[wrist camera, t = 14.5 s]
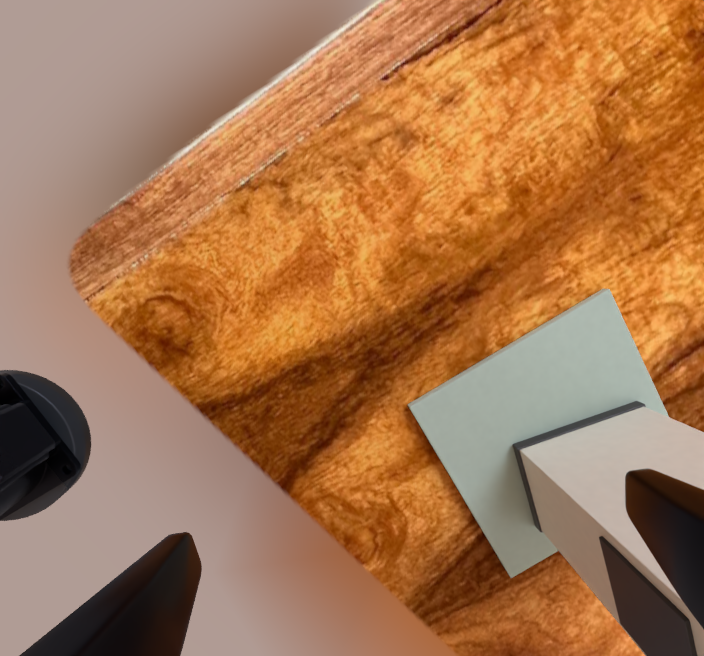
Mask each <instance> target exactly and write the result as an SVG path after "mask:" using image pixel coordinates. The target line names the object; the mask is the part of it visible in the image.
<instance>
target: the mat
mask: <svg viewBox="0 0 704 656" xmlns="http://www.w3.org/2000/svg"><path fill="white" fill-rule="evenodd" d="M634 401H639V402H641V403H643V404H645V406H646V408H648V409H651V410H653V411H655V412H658V413H660V414H662V415H665V416H667V417H669V416H668V414H667V412H666V410H665V407H664V405H663V403H662V401H661V399H660V397H659V395H658V392H657V390H656V388H655V386H654V384H653V382H652V379H651V377H650V375H649V373H648V371H647V369H646V367H645V364H644V362H643V360H642V358H641V356H640V354H639V352H638V349H637V347H636V345H635V343H634V341H633V339H632V337H631V334H630V332H629V330H628V328H627V326H626V324H625V321H624V319H623V317H622V315H621V313H620V311H619V309H618V306H617V304H616V302H615V300H614V298H613V296H612V294H611V291H610V290H609V289H602V290H600V291H598V292H597V293H595V294H593V295H592V296H590V297H588V298H587V299H585V300H583V301H581V302H580V303H578V304H576V305H575V306H573V307H571V308H570V309H568V310H566V311H565V312H563V313H561V314H560V315H558V316H556V317H554V318H553V319H551V320H549V321H548V322H546V323H544V324H543V325H541V326H539V327H538V328H536V329H534V330H532V331H531V332H529V333H527V334H526V335H524V336H522V337H521V338H519V339H517V340H516V341H514V342H512V343H511V344H509V345H507V346H505V347H504V348H502V349H500V350H499V351H497V352H495V353H494V354H492V355H490V356H489V357H487V358H485V359H483V360H482V361H480V362H478V363H477V364H475V365H473V366H472V367H470V368H468V369H467V370H465V371H463V372H462V373H460V374H458V375H456V376H455V377H453V378H451V379H450V380H448V381H446V382H445V383H443V384H441V385H440V386H438V387H436V388H434V389H433V390H431V391H429V392H428V393H426V394H424V395H423V396H421V397H419V398H418V399H416V400H414V401H413V402H411V403H409V404H408V407H409V409H410V410H411V412H412V414H413V415H414V417H415V419H416V420H417V422H418V424H419V425H420V427H421V429H422V430H423V432H424V434H425V435H426V437H427V439H428V440H429V442H430V444H431V445H432V447H433V449H434V451H435V452H436V454H437V456H438V457H439V459H440V461H441V462H442V464H443V466H444V467H445V469H446V471H447V472H448V474H449V476H450V477H451V479H452V481H453V482H454V484H455V486H456V487H457V489H458V491H459V492H460V494H461V496H462V497H463V499H464V501H465V503H466V504H467V506H468V508H469V509H470V511H471V513H472V514H473V516H474V518H475V519H476V521H477V523H478V524H479V526H480V528H481V529H482V531H483V533H484V534H485V536H486V538H487V539H488V541H489V543H490V544H491V546H492V548H493V549H494V551H495V553H496V555H497V556H498V558H499V560H500V561H501V563H502V565H503V566H504V568H505V570H506V571H507V573H508V575H509V576H510V578H512V577H514V576H516V575H518V574H519V573H521V572H523V571H524V570H526V569H528V568H530V567H531V566H533V565H535V564H537V563H538V562H540V561H542V560H543V559H545V558H547V557H549V556H550V555H552V554H554V553H555V552H557V551H558V549H557V548H556V547H555V546H554V545H553V543H552V542H551V541H550V540H549V539H548V537H547V536H546V535H545V534H544V533H543V532H542V533H541V532H540V531H539V530H538V529H537V528H536V526H535V524H534V520H533V516H532V513H531V509H530V506H529V502H528V499H527V495H526V491H525V488H524V484H523V481H522V477H521V474H520V470H519V466H518V463H517V459H516V456H515V452H514V449H513V444H514V443H517V442H520V441H523V440H525V439H528V438H531V437H534V436H537V435H540V434H543V433H546V432H548V431H551V430H554V429H557V428H560V427H563V426H566V425H569V424H571V423H574V422H577V421H580V420H583V419H586V418H589V417H591V416H594V415H597V414H600V413H603V412H606V411H609V410H612V409H614V408H617V407H620V406H623V405H626V404H629V403H632V402H634Z"/></svg>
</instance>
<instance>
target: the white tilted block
mask: <svg viewBox="0 0 704 656" xmlns="http://www.w3.org/2000/svg"><path fill="white" fill-rule="evenodd" d="M513 449H514V452H515V456H516V459H517V463H518V466H519V470H520V474H521V477H522V481H523V484H524V488H525V491H526V495H527V499H528V502H529V506H530V509H531V513H532V516H533V520H534V524H535V526H536V528H537V529H538V530H539V531H540V532H541V533H542V532H543V533H544V534H545V535H546V536H547V537H548V539H549V540H550V541H551V542H552V543H553V545H554V546H555V547H556V548H557V549H558V551H559V552H560V553H561V554H562V555H563V557H564V558H565V559H566V560H567V561H568V563H569V564H570V565H571V566H572V567H573V569H574V570H575V571H576V572H577V573H578V575H579V576H580V577H581V578H582V579H583V581H584V582H585V583H586V584H587V586H588V587H589V588H590V589H591V590H592V592H593V593H594V594H595V595H596V596H597V598H598V599H599V600H600V601H601V602H602V604H603V605H604V606H605V607H606V608H607V610H608V611H609V612H610V613H611V614H612V616H613V617H614V618H615V619H616V620H617V622H618V623H619V624H620V625H621V626H622V628H623V629H624V630H625V631H626V632H627V634H628V635H629V636H630V637H631V638H632V640H633V641H634V642H635V643H636V645H637V646H638V647H639V648H640V649H641V651H642V652H643V653H644V654H645V655H646V656H704V629H703V628H702V626H701V625H700V624H699V622H698V621H697V620H696V619H695V617H694V616H693V615H692V613H691V612H690V611H689V609H688V608H687V606H686V605H685V604H684V602H683V601H682V600H681V598H680V597H679V595H678V594H677V592H676V591H675V589H674V588H673V586H672V585H671V583H670V582H669V580H668V578H667V577H666V575H665V574H664V572H663V571H662V569H661V567H660V566H659V564H658V563H657V561H656V560H655V558H654V556H653V555H652V553H651V552H650V550H649V549H648V547H647V545H646V544H645V542H644V541H643V539H642V538H641V536H640V534H639V533H638V531H637V530H636V528H635V526H634V525H633V523H632V522H631V520H630V518H629V516H628V514H627V511H626V507H625V476H626V473H627V472H629V471H631V470H638V469H646V468H649V469H653V470H655V471H658V472H660V473H663V474H666V475H668V476H671V477H673V478H676V479H678V480H681V481H683V482H686V483H688V484H691V485H693V486H696V487H698V488H701V489H703V490H704V432H701V431H699V430H697V429H695V428H692V427H690V426H688V425H685V424H683V423H681V422H678V421H676V420H674V419H671V418H669V417H667V416H665V415H662V414H660V413H658V412H655V411H653V410H651V409H648V408H646V406H645V404H643V403H641V402H639V401H634V402H632V403H629V404H626V405H623V406H620V407H617V408H614V409H612V410H609V411H606V412H603V413H600V414H597V415H594V416H591V417H589V418H586V419H583V420H580V421H577V422H574V423H571V424H569V425H566V426H563V427H560V428H557V429H554V430H551V431H548V432H546V433H543V434H540V435H537V436H534V437H531V438H528V439H525V440H523V441H520V442H517V443H514V444H513Z"/></svg>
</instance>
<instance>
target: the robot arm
mask: <svg viewBox="0 0 704 656" xmlns="http://www.w3.org/2000/svg"><path fill="white" fill-rule="evenodd" d="M0 380H1V381H3V383H4V387H3V386H2V385H1V384H0V520H2V519H3V518H5V517H7V516H8V515H10V514H12V513H13V512H15V511H17V510H18V509H20V508H22V507H23V506H25V505H27V504H28V503H30V502H32V501H33V500H35V499H37V498H39V497H40V496H42V495H44V494H45V493H47V492H49V491H50V490H52V489H54V488H55V487H57V486H59V485H60V484H62V483H64V482H65V481H67V480H69V479H70V478H72V477H73V476H75V475H76V474H77V473H78V472H79V471H80V469H81V464H80V462H79V460H78V459H77V458H76V457H75V455H74V454H73V453H72V452H71V450H70V449H69V448H68V446H67V445H66V444H65V443H64V441H63V440H62V439H61V438H60V436H59V435H58V434H57V433H56V431H55V430H54V429H53V427H52V426H51V425H50V424H49V422H48V421H47V420H46V419H45V417H44V416H43V415H42V413H41V412H40V411H39V410H38V408H37V407H36V406H35V405H34V403H33V402H32V401H31V399H30V398H29V397H28V396H27V394H26V393H25V392H24V391H23V389H22V388H21V387H20V385H19V384H18V383H17V382H16V380H15V379H14V378H13V377H12V376H11V375H10V374H7V373H0ZM66 465H68V466H70V467H71V469H72V470H69V469H67V467H66ZM625 507H626V511H627V514H628V516H629V518H630V520H631V522H632V523H633V525H634V526H635V528H636V530H637V531H638V533H639V534H640V536H641V538H642V539H643V541H644V542H645V544H646V545H647V547H648V549H649V550H650V552H651V553H652V555H653V556H654V558H655V560H656V561H657V563H658V564H659V566H660V567H661V569H662V571H663V572H664V574H665V575H666V577H667V578H668V580H669V582H670V583H671V585H672V586H673V588H674V589H675V591H676V592H677V594H678V595H679V597H680V598H681V600H682V601H683V602H684V604H685V605H686V606H687V608H688V609H689V611H690V612H691V613H692V615H693V616H694V617H695V619H696V620H697V621H698V622H699V624H700V625H701V626H702V628H703V629H704V490H703V489H701V488H698V487H696V486H693V485H691V484H688V483H686V482H683V481H681V480H678V479H676V478H673V477H671V476H668V475H666V474H663V473H660V472H658V471H655V470H653V469H649V468H646V469H638V470H631V471H629V472H627V473H626V476H625ZM200 577H201V561H200V558H199V555H198V552H197V549H196V546H195V544H194V541H193V538H192V536H191V535H190V534H189V533H187V532H184V533H176V534H171V535H168V536H167V537H166V538H165V539H163V540H162V541H161V542H160V543H158V544H157V545H156V546H155V547H154V548H152V549H151V550H150V551H148V552H147V553H146V554H145V555H143V556H142V557H141V558H140V559H139V560H137V561H136V562H135V563H134V564H132V565H131V566H130V567H129V568H127V569H126V570H125V571H124V572H123V573H121V574H120V575H119V576H118V577H116V578H115V579H114V580H113V581H111V582H110V583H109V584H108V585H106V586H105V587H104V588H103V589H101V590H100V591H99V592H98V593H96V594H95V595H94V596H93V597H91V598H90V599H89V600H88V601H87V602H85V603H84V604H83V605H82V606H80V607H79V608H78V609H77V610H75V611H74V612H73V613H72V614H70V615H69V616H68V617H67V618H66V619H64V620H63V621H62V622H61V623H59V624H58V625H57V626H56V627H54V628H53V629H52V630H51V631H49V632H48V633H47V634H46V635H44V636H43V637H42V638H41V639H39V640H38V641H37V642H36V643H34V644H33V645H32V646H31V647H30V648H28V649H27V650H26V651H25V652H23V653H22V654H21V655H20V656H180V654H181V651H182V648H183V644H184V640H185V636H186V632H187V628H188V624H189V620H190V616H191V612H192V608H193V605H194V601H195V597H196V593H197V589H198V585H199V581H200Z"/></svg>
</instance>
